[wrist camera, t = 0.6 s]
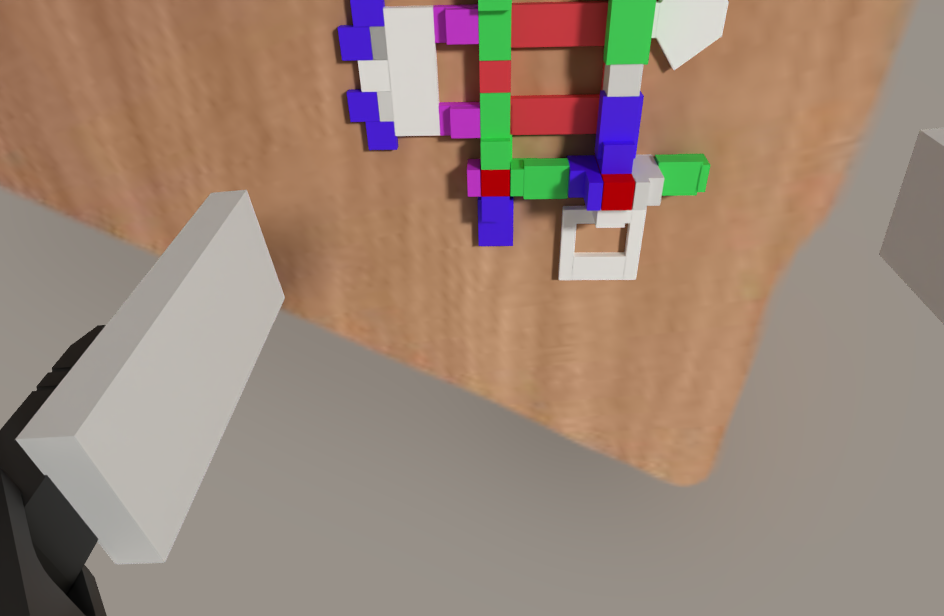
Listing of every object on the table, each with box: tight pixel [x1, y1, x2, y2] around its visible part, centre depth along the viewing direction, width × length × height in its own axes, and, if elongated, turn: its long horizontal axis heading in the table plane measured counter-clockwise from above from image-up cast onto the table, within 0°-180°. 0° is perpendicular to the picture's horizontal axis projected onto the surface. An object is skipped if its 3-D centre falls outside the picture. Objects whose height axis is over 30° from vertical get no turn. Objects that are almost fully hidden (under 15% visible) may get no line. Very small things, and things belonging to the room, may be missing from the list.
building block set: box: [338, 0, 729, 280], centre depth 34 cm, size 25×20×4 cm
